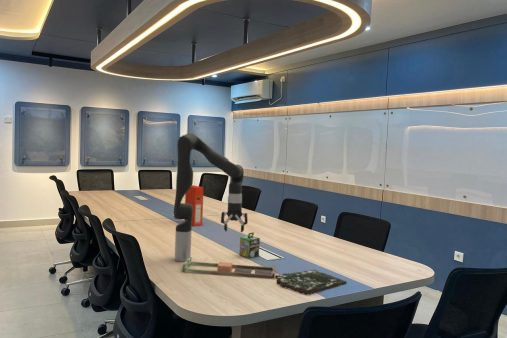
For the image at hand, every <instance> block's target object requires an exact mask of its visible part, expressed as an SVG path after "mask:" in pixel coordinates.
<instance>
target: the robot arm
mask: <svg viewBox="0 0 507 338" xmlns="http://www.w3.org/2000/svg"><path fill="white" fill-rule="evenodd" d="M176 148H177V168H176V169H177V171H176V181H175V183H176V184H175V186H176V187H175V197H174V198H175V199H174V205H173V206H174V207H173V218H174V219H175V220H184V222H182V223H180V224H177V225H175V234H174V235H175V238H174V239H175V242H174V260H175V261H177V262H186V260H187V259H188V258H189V257H191V254H192V253H191V250H192V249H191V248H192V229H193V228H192V227H193V226H192V215H193V206H192V204H189V203H185V202H184V203H182V201H183V198H185V194H186V193H187V191H188V190H189V189H190V188H191V186H192V185H193V183H194V182H193V181H194V170H193V168H192V165H191V153H192V151H193V150H194V151H197V152H199V153H201V154H202V156H204V157H205V159H206V160H207V161H208V162H209V163H210V164H211V165H213V167H216V168H217V169H219V170H221V171H222V172H223V173H224V174H226V175H227V176H228V177H230V182H229V184H228V196H227V211H222V212H221V216H220V218H221V219H220V223H221V224H223V226H224V227H223V230H224V231H225V232H228V222H229V221H236V222H237V221H238V222H239V223H240V233H243V232H244V231H245V225H248V223H249V222H248V219H249V218H248V213H247V212H244V213H243V211H242V210H243V207H242V206H243V194H242V191H243V180H244V175H245V174H244V173H245V172H244V168H243V166H242V165H241V164H236V163H235V164H234V163H233V162H231V161H230V160H229V159H228V158H227V157H226V156H225V155H223V154H221V153H219V152H218V151H216V150H215V149H213V148H212V147H211V146H209V145H208V144H207V143H206V142H205V141H203V140H202V139H201V138H200V137H198V136H197V135H196V134H194V133H192V132H191V133H186V134H182V135H181V136H179V138H178V139H177V147H176ZM225 216H227V217H228V218H227V219H226V220H225ZM242 217H243V218H244V221H243V219H242ZM185 219H186V221H185Z"/></svg>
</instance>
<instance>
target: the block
mask: <svg viewBox="0 0 507 338" xmlns="http://www.w3.org/2000/svg"><path fill="white" fill-rule="evenodd" d="M232 264H233V262H227V261H226V262H225V261H224V262H223V261H220V262H218V267H217V271H224V272H233V271H232V270H233V268H232Z"/></svg>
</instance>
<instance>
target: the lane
mask: <svg viewBox="0 0 507 338" xmlns="http://www.w3.org/2000/svg"><path fill="white" fill-rule="evenodd" d="M218 264H219V262H218V263H215V262H205V261H204V262H203V261H202V262H201V261H192V257H191V256H190V257H189V258H188V259H187V260H186V261H184V263H182V273H192V274H193V273H194V274H206V275H219V276H220V275H221V276H233V277H247V278H258V279H260V278H261V279H272V278H274V279H275V275H276V265H272V267H271V266H257V265H247V264H246V265H244V264H234V263H232V269H234V271H231V272H224V271H218V270H210V269H209V270H207V269H196V268H195V269H194V268H192V269H191V268H190V266H203V267H204V266H205V267H214V268H215V267H217V268H218ZM253 270H255V271H254V273H252V271H253Z"/></svg>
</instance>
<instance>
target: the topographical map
mask: <svg viewBox="0 0 507 338" xmlns="http://www.w3.org/2000/svg"><path fill="white" fill-rule="evenodd" d="M274 279H276V283H277V285H279V286H280V287H281V286H282V287H281V288H285V287H286V288H285V289H287V288H290V289H289V290H291V289H292V290H291V291H293V290H294V292H297V293H298V292H299V293H298V294H303V293H304V294H303V295H306V296H308V295H307V294H309V295H312V294H316V293H318V292H322V291H326V290H328V289H332V288H336V287H338V286H343V285H346V284H347V283H348V281H347V280H345V279H341V278H339V277H335V276H334V275H331V274H327V273H325V272H321V271H318V270H316V269H310V270H304V271H299V272H297V271H296V272H291V273H289V272H287V273H286V272H285V273H281V274H275V276H274ZM315 292H316V293H315ZM311 293H312V294H311Z"/></svg>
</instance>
